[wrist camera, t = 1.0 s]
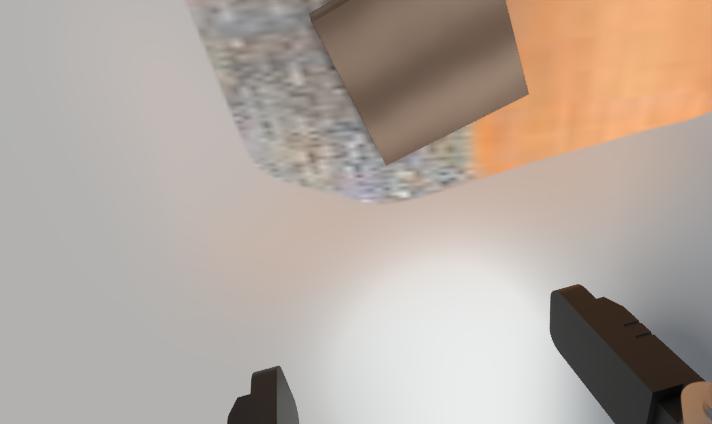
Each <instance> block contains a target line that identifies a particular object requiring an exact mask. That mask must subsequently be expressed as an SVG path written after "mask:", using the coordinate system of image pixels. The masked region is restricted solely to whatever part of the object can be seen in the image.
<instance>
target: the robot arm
mask: <svg viewBox="0 0 712 424" xmlns="http://www.w3.org/2000/svg"><path fill="white" fill-rule="evenodd" d="M550 334H551V337H552V340H553V342H554V344H555V346H556V348H557V350H558V351H559V352H560V354H561V355H562V356H563V358H564V359H565V360H566V361H567V363H568V364H569V365H570V366H571V368H572V369H573V370H574V372H575V373H576V374H577V375H578V376H579V378H580V379H581V381H582V382H583V383H584V384H585V385H586V387H587V388H588V389H589V391H590V392H591V393H592V395H593V396H594V397H595V399H596V400H597V401H598V402H599V404H600V405H601V406H602V407H603V409H604V410H605V411H606V413H607V414H608V415H609V416H610V418H611V419H612V420H613V422H614V423H615V424H712V382H706V381H705V380H704V379H702V378H701V377H700V376H699V375H698V374H697V373H696V372H694V371H693V370H692V369H691V368H690V367H689V366H688V365H687V364H686V363H685V362H683V361H682V360H681V359H680V358H679V357H678V356H677V355H676V354H675V353H674V352H673V351H672V350H670V349H669V348H668V347H667V346H666V345H665V344H664V343H663V342H662V341H661V340H659V339H658V338H657V337H656V336H655V335H652V334H651V331H649V329H647V328H646V327H645V326H644V325H643V324H642V323H639V321H638V320H637V319H636V318H635V317H634V316H633V315H632V314H631V313H630V312H629V311H628V310H627V309H626V308H624V307H623V306H621V305H619V304H617V303H615V302H613V301H611V300H609V299H607V298H605V297H602V298H598V299H596V298H595V297H594V296H593V295H592V294H591V293H589V292H588V290H587V289H585V288H584V287H583V286H582V285H579V284H577V285H573V286H570V287H566V288H562V289H559V290H555V291H553V292H552V293H551V301H550ZM227 424H299V418H298V412H297V408H296V404H295V400H294V398H293V395H292V393H291V391H290V389H289V386H288V383H287V381H286V379H285V376H284V374H283V371H282V369H281V367H280V366H276V367H272V368H269V369H265V370H261V371H258V372H254V373H253V374H252V379H251V394H249V395H245V396H242V397H238V398H237V400H236V402H235V404H234V406H233V408H232V410H231V412H230V414H229V416H228V421H227Z"/></svg>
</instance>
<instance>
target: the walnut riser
mask: <svg viewBox="0 0 712 424" xmlns="http://www.w3.org/2000/svg"><path fill="white" fill-rule="evenodd" d="M310 18H311V21H312V24H313V26H314V28H315V30H316V32H317V33H318V35H319V37H320V39H321V41H322V43H323V45H324V47H325V49H326V51H327V53H328V55H329V56H330V58H331V60H332V62H333V64H334V66H335V68H336V70H337V72H338V74H339V76H340V78H341V80H342V81H343V83H344V85H345V87H346V89H347V91H348V93H349V95H350V97H351V99H352V101H353V103H354V104H355V106H356V108H357V110H358V112H359V114H360V116H361V118H362V120H363V122H364V124H365V126H366V128H367V129H368V131H369V133H370V135H371V137H372V139H373V141H374V143H375V145H376V147H377V149H378V151H379V153H380V154H381V156H382V158H383V160H384V162H385V164H386V165H388V164H390V163H392V162H394V161H396V160H398V159H400V158H402V157H404V156H406V155H408V154H410V153H412V152H414V151H416V150H418V149H420V148H422V147H424V146H426V145H428V144H430V143H432V142H434V141H436V140H438V139H440V138H442V137H444V136H446V135H448V134H450V133H452V132H454V131H456V130H458V129H460V128H462V127H464V126H466V125H468V124H470V123H472V122H474V121H476V120H478V119H480V118H482V117H484V116H486V115H488V114H490V113H492V112H494V111H496V110H498V109H500V108H502V107H504V106H506V105H508V104H510V103H512V102H514V101H516V100H518V99H520V98H522V97H524V96H526V95H528V94H529V93H528V89H527V85H526V81H525V77H524V73H523V69H522V65H521V61H520V57H519V53H518V49H517V45H516V41H515V37H514V33H513V29H512V25H511V21H510V17H509V13H508V9H507V5H506V1H505V0H333V1H331V2H330V3H328V4H326V5H324V6H323V7H321V8H319V9H317V10H316V11H314V12H312V13H310Z"/></svg>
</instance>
